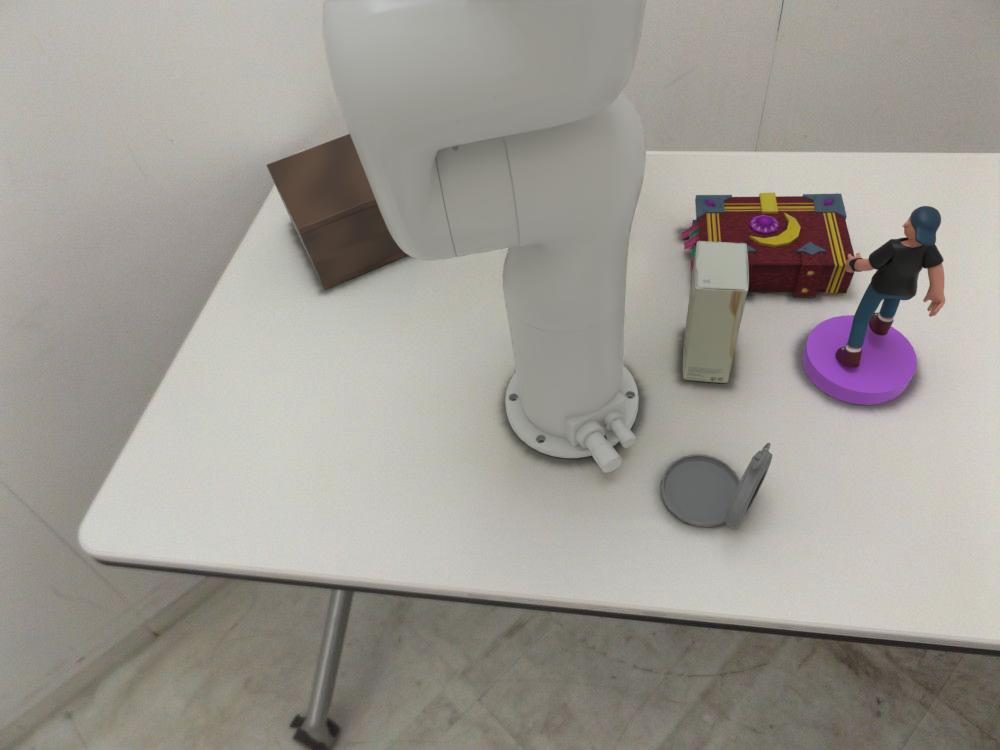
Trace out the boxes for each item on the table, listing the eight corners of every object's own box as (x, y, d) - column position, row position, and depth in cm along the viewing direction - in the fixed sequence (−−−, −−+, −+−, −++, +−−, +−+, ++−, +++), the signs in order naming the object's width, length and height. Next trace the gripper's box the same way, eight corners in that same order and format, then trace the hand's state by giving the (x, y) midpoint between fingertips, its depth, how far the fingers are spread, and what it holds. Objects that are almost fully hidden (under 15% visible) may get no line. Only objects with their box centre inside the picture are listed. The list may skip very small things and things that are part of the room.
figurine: (899, 330, 67) (978, 173, 53) (919, 408, 61) (1013, 256, 47) (797, 326, 68) (847, 173, 54) (807, 401, 63) (866, 253, 49)
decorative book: (847, 298, 70) (861, 262, 66) (683, 296, 73) (688, 261, 69) (830, 225, 77) (842, 188, 73) (681, 226, 80) (685, 190, 76)
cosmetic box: (728, 385, 65) (750, 293, 56) (681, 381, 66) (694, 290, 56) (728, 334, 69) (748, 240, 59) (684, 331, 70) (696, 238, 60)
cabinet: (397, 183, 91) (379, 122, 84) (438, 242, 83) (422, 179, 76) (293, 224, 88) (266, 164, 81) (324, 290, 80) (297, 229, 73)
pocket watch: (656, 461, 61) (664, 394, 53) (754, 458, 60) (777, 389, 52) (667, 548, 56) (678, 488, 48) (774, 546, 55) (803, 485, 47)
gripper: (546, -180, 57) (557, 40, 71) (471, -209, 66) (494, -8, 80) (464, -156, 55) (493, 64, 70) (399, -189, 64) (436, 12, 79)
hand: (494, 25), depth 75 cm, fingers closed
